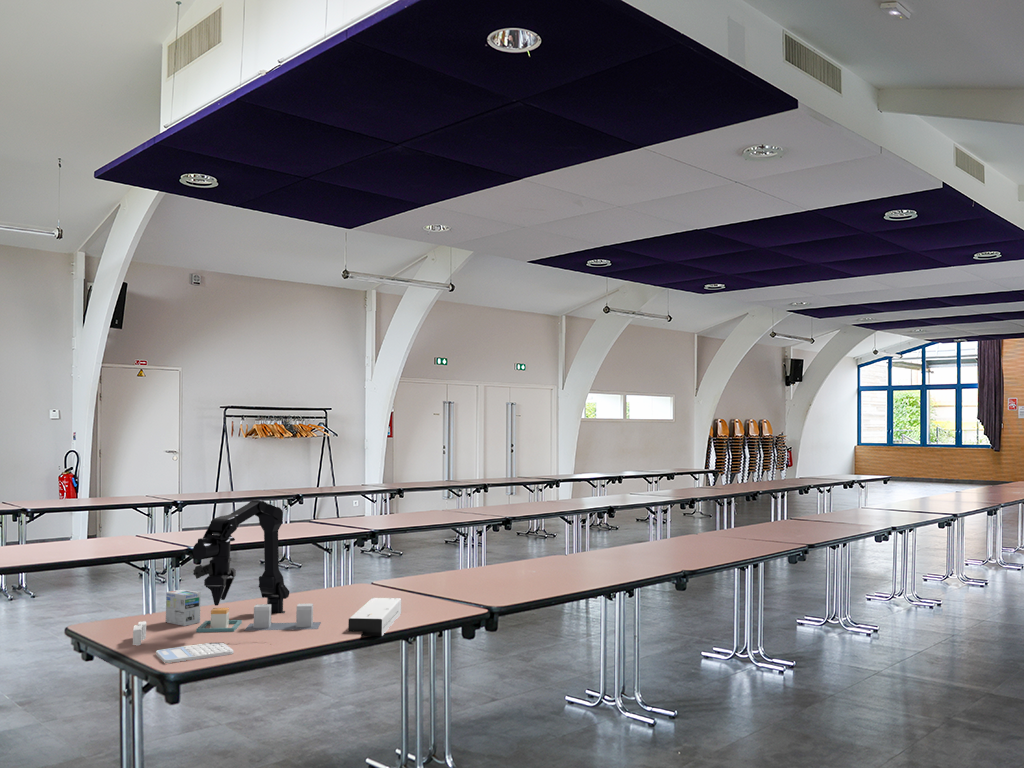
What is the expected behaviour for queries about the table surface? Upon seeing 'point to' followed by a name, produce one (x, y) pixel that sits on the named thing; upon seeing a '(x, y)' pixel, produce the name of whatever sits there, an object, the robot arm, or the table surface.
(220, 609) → the block
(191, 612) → the light bulb box
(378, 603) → the laminator
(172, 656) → the calculator
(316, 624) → the board
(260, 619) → the block
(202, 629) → the teal tray
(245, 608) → the table surface
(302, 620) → the block
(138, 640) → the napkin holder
